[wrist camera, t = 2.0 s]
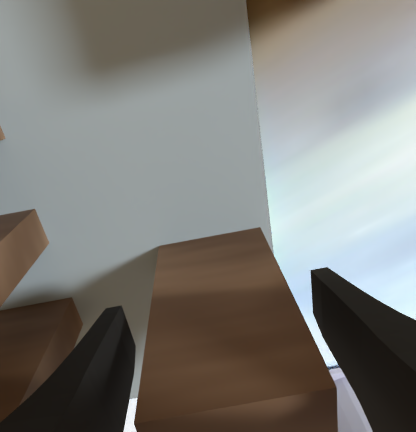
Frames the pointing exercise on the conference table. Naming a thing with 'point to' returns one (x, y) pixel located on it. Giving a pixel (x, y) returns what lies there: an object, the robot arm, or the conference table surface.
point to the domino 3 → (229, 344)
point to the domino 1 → (1, 134)
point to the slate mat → (126, 142)
